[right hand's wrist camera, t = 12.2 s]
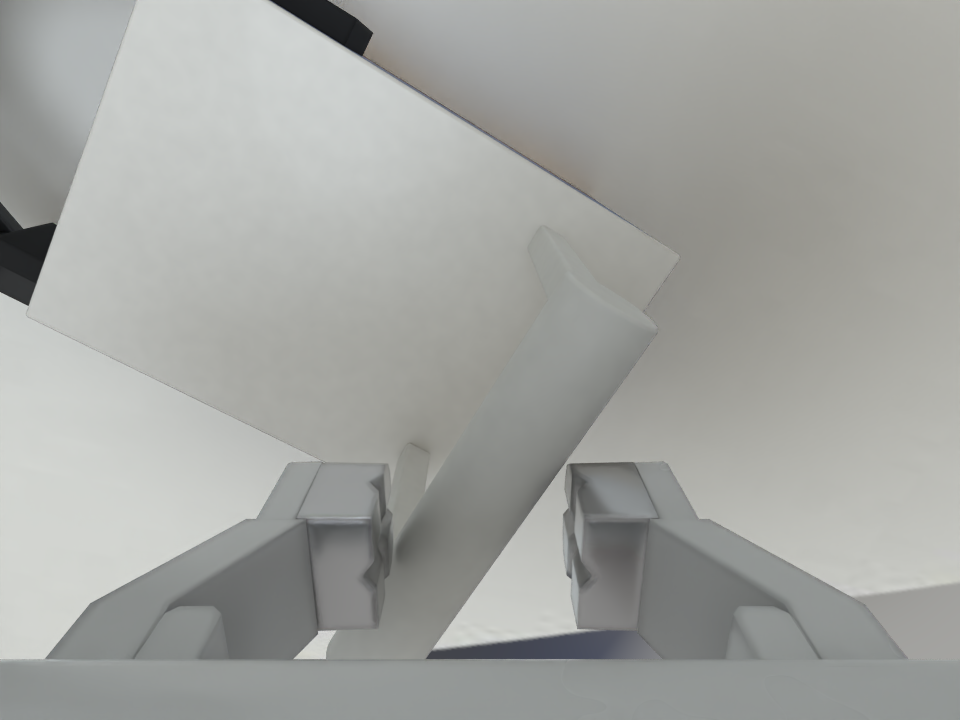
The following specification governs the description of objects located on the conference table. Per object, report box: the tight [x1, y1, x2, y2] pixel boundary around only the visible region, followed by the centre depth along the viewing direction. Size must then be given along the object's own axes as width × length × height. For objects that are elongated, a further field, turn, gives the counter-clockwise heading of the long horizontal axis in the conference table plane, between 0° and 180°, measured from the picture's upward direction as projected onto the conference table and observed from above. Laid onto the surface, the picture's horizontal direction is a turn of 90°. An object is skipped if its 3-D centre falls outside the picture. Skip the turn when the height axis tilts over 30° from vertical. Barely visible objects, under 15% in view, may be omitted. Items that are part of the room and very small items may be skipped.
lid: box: [26, 0, 680, 659], centre depth 13 cm, size 13×10×8 cm
